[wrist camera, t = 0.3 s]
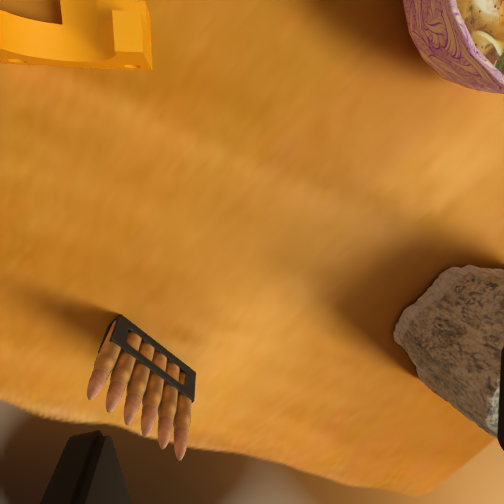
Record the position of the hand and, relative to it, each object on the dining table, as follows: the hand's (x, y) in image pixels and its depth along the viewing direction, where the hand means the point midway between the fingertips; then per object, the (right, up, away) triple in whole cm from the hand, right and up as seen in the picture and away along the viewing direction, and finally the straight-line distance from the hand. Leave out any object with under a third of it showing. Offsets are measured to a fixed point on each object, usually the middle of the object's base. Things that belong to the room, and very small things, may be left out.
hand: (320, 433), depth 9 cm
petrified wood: (+24, -5, +36) cm, 44 cm away
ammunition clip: (-12, -6, +31) cm, 34 cm away
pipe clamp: (-16, +22, +23) cm, 36 cm away
